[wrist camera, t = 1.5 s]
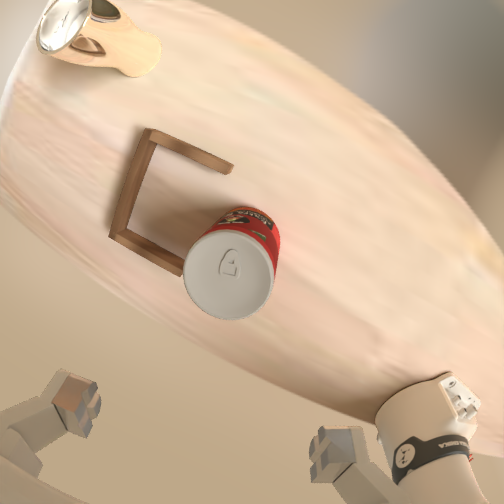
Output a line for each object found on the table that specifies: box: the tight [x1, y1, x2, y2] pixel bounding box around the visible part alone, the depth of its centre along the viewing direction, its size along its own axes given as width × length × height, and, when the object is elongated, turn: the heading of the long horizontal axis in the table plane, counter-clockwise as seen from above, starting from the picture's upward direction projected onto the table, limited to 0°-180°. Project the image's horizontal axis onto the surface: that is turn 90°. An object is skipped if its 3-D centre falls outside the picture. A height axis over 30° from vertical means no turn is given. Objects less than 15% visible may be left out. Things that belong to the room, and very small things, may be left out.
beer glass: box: [36, 0, 162, 77], centre depth 22 cm, size 7×7×15 cm
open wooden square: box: [108, 128, 234, 277], centre depth 33 cm, size 10×14×2 cm
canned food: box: [183, 207, 280, 320], centre depth 29 cm, size 8×8×11 cm
